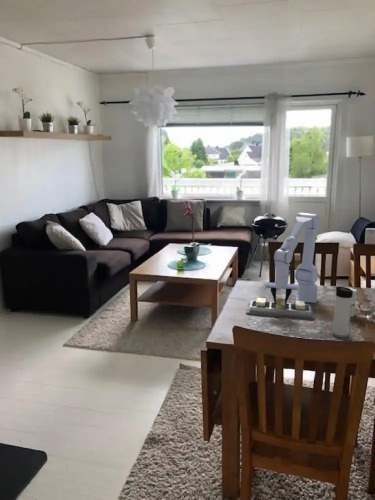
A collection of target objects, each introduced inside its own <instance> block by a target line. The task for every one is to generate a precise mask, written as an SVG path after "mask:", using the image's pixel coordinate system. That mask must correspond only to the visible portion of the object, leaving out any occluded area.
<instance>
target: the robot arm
mask: <svg viewBox="0 0 375 500" xmlns="http://www.w3.org/2000/svg"><path fill="white" fill-rule="evenodd" d="M320 226H321V217H320V216H319V214H318V213H308V212H307V213H306V212H298V213H297V214H296V217H295V225H294V228H293V229H292V232H291V234H290V236H287V237H286V238H285V240H284V241H283V243H282V245H281V246H280V248H278V249H277V250H275V252H274V255H273V259H274V265H275V279H274V282H271V283H270V282H269V283H268V282H265V283H264V284H265V285H264V289H270V293H271V295H272V297H273V302H274V304H276V294H277V290H285V305H286V304H287V303H288V301H289V298H290V296H291V294H292V291H296V292H297V295H295V299H296V300H295V301H304V302H305V303H315V304H316V303H317V299H318V283H317V281H318V278H319V275H318V268H317V267H316V266H315V265H314V263H313V262H314V255H315V254H314V253H315V245H316V244H315V243H316V238H317V237H316V236H317V232H318V231H320ZM304 232H305V235H304V241H303V248H302V249H303V251H302V257H301V258H302V259H301V260H302V261H301V263H300V264H298V265H297V266H296V268H295V269H296V270H295V273H294V279H295V280H296V282H297V284H290V283H289V271H290V263H291V262H292V260H293V255H294V251H295V249H296V248H297V246H298V244H299V242H298V239H299V238H300V237H301V235H302V234H303V233H304Z"/></svg>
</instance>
